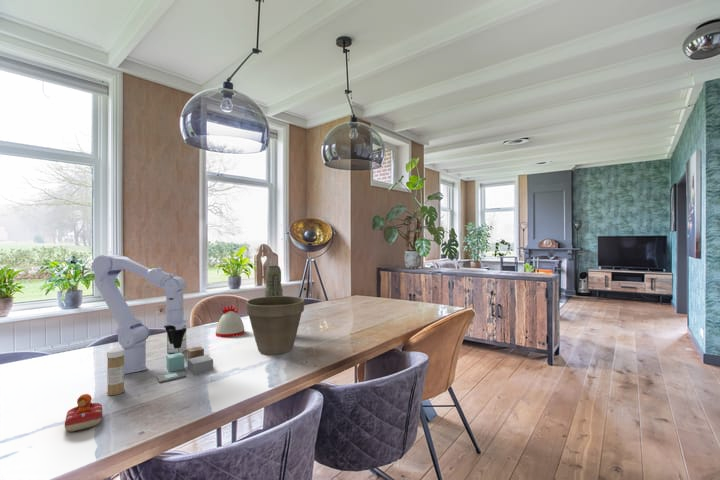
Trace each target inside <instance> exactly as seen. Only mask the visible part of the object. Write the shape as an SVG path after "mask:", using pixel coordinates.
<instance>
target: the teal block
mask: <svg viewBox="0 0 720 480" xmlns="http://www.w3.org/2000/svg"><path fill="white" fill-rule="evenodd" d="M165 361H166V370H167V371H168V373H173V372H178V371H183V370H185V354H183V352H182V353H170V354H167V355H166V360H165Z"/></svg>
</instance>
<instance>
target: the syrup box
mask: <svg viewBox="0 0 720 480" xmlns="http://www.w3.org/2000/svg"><path fill="white" fill-rule="evenodd" d="M184 319H187V317H186V316H185V317H184ZM182 328H186V329H187V322H184V323H183V324H182ZM187 343H188V342H187V331H186V332H185V334H184V336H183V340H182V345H181V348H176V349H174V346H173V344H170V342H169V338H168V334H167V333H166V348H167V349H166V351H167V352H166V353H167V354H176V353H182V354H183V353H184V352H185V351H187V349H188V345H187Z"/></svg>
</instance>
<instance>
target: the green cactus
mask: <svg viewBox="0 0 720 480" xmlns="http://www.w3.org/2000/svg"><path fill="white" fill-rule="evenodd" d="M265 283H266V284H265V289H264V297H271V296H284V294H283V287H282V271H281V268H280V266H278V265H269V266H267V267H266V270H265Z"/></svg>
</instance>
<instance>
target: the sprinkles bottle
mask: <svg viewBox="0 0 720 480" xmlns="http://www.w3.org/2000/svg"><path fill="white" fill-rule="evenodd" d="M124 354H125V351H124V349H123V348H121V347H116V348H111V349H108V350H107V351H106V358H107V376H106V377H107V379H106V380H107V381H106V382H107V383H106V384H107V392H106V394H107V395H108V396H116V395H117V396H118V395H120V394H122V393H124V392H125V374H124Z"/></svg>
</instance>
